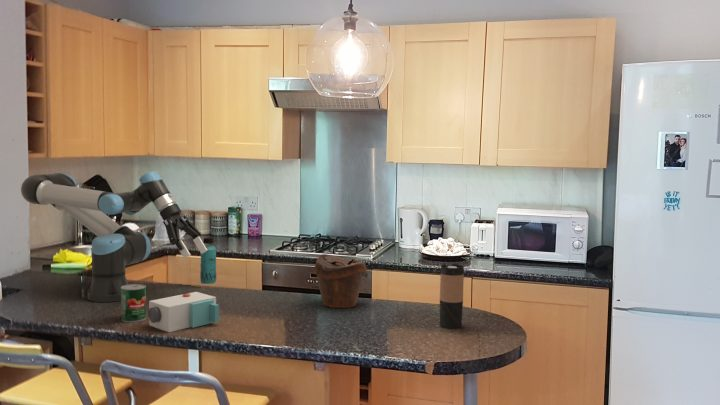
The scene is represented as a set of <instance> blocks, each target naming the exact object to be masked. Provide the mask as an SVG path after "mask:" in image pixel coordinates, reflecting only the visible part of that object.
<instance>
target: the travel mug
mask: <svg viewBox="0 0 720 405" xmlns="http://www.w3.org/2000/svg"><path fill="white" fill-rule="evenodd" d="M464 270H465V267H464V265H461V264H459V263H458V264H456V263H452V264H450V265H447V264H441V265H440V278H439V279H440V283H439V326H440V327H441V328H445V329H459V328H461V327H462V323H463V309H464V283H465V282H464V281H465V280H464V279H465V278H464V276H465V275H464V274H465V272H464Z"/></svg>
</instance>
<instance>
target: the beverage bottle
mask: <svg viewBox="0 0 720 405" xmlns="http://www.w3.org/2000/svg"><path fill="white" fill-rule="evenodd" d="M214 241H215V240H214V238H213V237H203V241H202V242H203V244H204V245H205V244H207V245H205V247H206V248H207V251H206V252H204V253H203V254H201V253H200V274H199V275H200V278H199V279H200V283H201V284H203V285H211V284H215V283H216V282H217V248H216V247H215V245H210V244H214Z"/></svg>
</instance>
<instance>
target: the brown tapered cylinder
mask: <svg viewBox="0 0 720 405" xmlns="http://www.w3.org/2000/svg"><path fill="white" fill-rule="evenodd" d="M313 272H314V274H315V275H316V278H317V282H318V287H319V291H320V296H321V302H322V305H323V306H325V307H329V308H336V309H339V308H340V309H343V308H345V309H346V308H347V309H348V308H353V307H355V306H357V304H358V299H359V294H360V290H361V286H362V281H363V277H364V278H366V279H367V278H368V276H369V275H368V269H367V266H366V264H365V263H364V262H363V261H358V262H357V260H356V259H354V258H352V259H351V260H349V259H346V258H342V257H338V256H336V255H332V254H327V253H326V254H325V253H324V254H320V255H319V256H318V257H317V258H316V261H315V265H314V268H313Z"/></svg>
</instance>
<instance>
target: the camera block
mask: <svg viewBox="0 0 720 405" xmlns="http://www.w3.org/2000/svg"><path fill="white" fill-rule="evenodd" d="M210 299H211V300H214V303H215V304H217V296H214V295H210V294H206V293H202V292H199V291H193V292H188V293H183V294H178V295H173V296H167V297H163V298H162V297H161V298H158V299H152V300H149V301H148V306H149V308H148V313H147V314H148V319H149V326H150V327H152V328H156V329H157V330H161V331H164V332H167V333H172V332H176V331H180V330H184V329H187V328H191V327H190V304H191V303H196V302H201V301H205V300H210Z"/></svg>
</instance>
